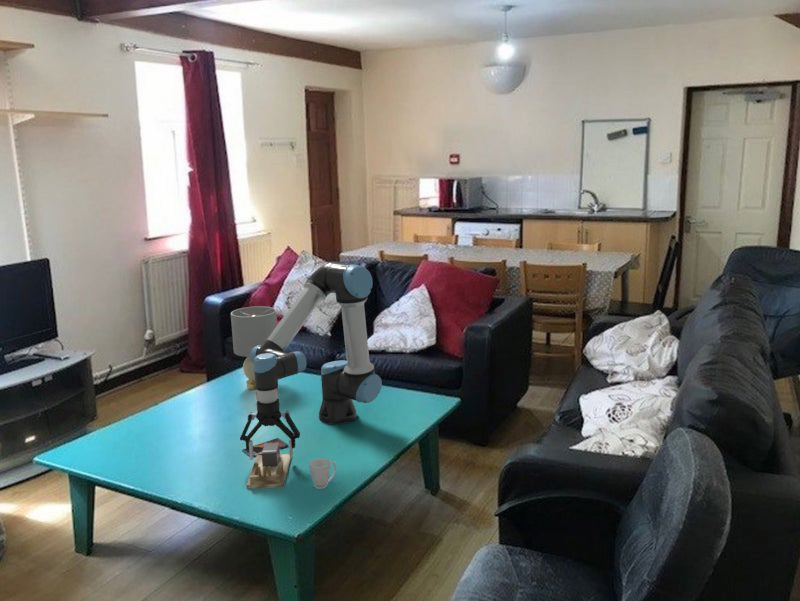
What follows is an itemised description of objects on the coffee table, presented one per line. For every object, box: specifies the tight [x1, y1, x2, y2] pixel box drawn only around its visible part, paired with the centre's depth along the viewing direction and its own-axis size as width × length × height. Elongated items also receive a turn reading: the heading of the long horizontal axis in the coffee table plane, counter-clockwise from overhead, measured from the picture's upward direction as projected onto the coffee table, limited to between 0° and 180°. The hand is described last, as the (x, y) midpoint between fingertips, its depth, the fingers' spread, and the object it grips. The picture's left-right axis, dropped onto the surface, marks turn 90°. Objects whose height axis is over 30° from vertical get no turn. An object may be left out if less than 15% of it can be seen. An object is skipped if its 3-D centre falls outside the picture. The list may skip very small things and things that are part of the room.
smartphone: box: [241, 437, 289, 458], centre depth 253 cm, size 8×1×15 cm
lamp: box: [230, 306, 278, 391], centre depth 315 cm, size 20×20×35 cm
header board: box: [246, 453, 292, 489], centre depth 234 cm, size 12×22×7 cm, turn 3°
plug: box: [262, 443, 281, 467], centre depth 239 cm, size 5×8×5 cm, turn 3°
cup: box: [308, 457, 337, 490], centre depth 225 cm, size 7×10×8 cm
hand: (271, 457), depth 240 cm, fingers open, 13 cm apart
